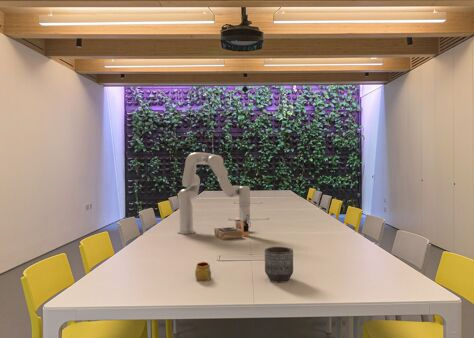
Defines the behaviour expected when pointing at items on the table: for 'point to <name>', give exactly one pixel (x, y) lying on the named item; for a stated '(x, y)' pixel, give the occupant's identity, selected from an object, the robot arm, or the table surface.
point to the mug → (202, 271)
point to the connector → (243, 229)
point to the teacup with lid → (239, 223)
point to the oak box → (228, 233)
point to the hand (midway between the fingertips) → (244, 230)
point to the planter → (279, 263)
